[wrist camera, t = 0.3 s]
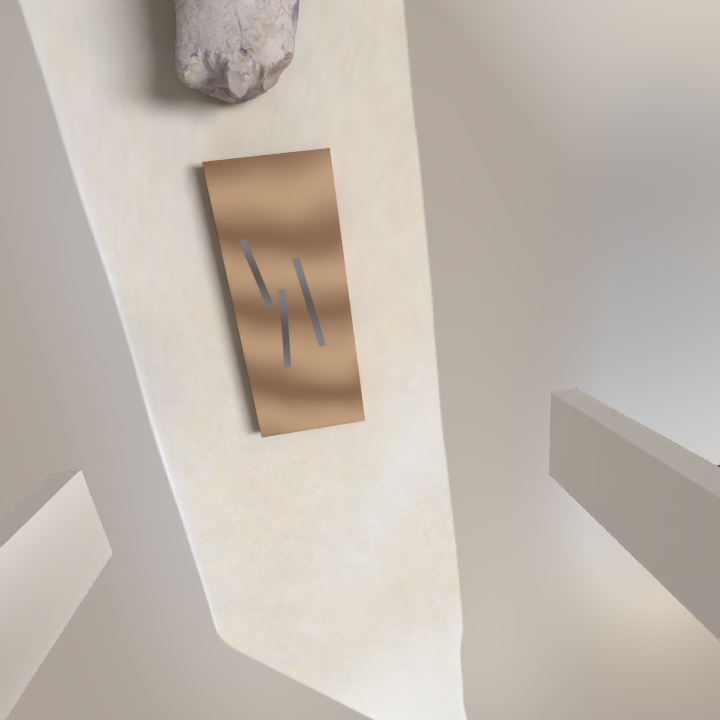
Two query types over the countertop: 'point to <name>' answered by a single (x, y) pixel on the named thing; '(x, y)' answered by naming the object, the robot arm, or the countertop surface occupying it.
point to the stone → (234, 45)
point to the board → (288, 287)
